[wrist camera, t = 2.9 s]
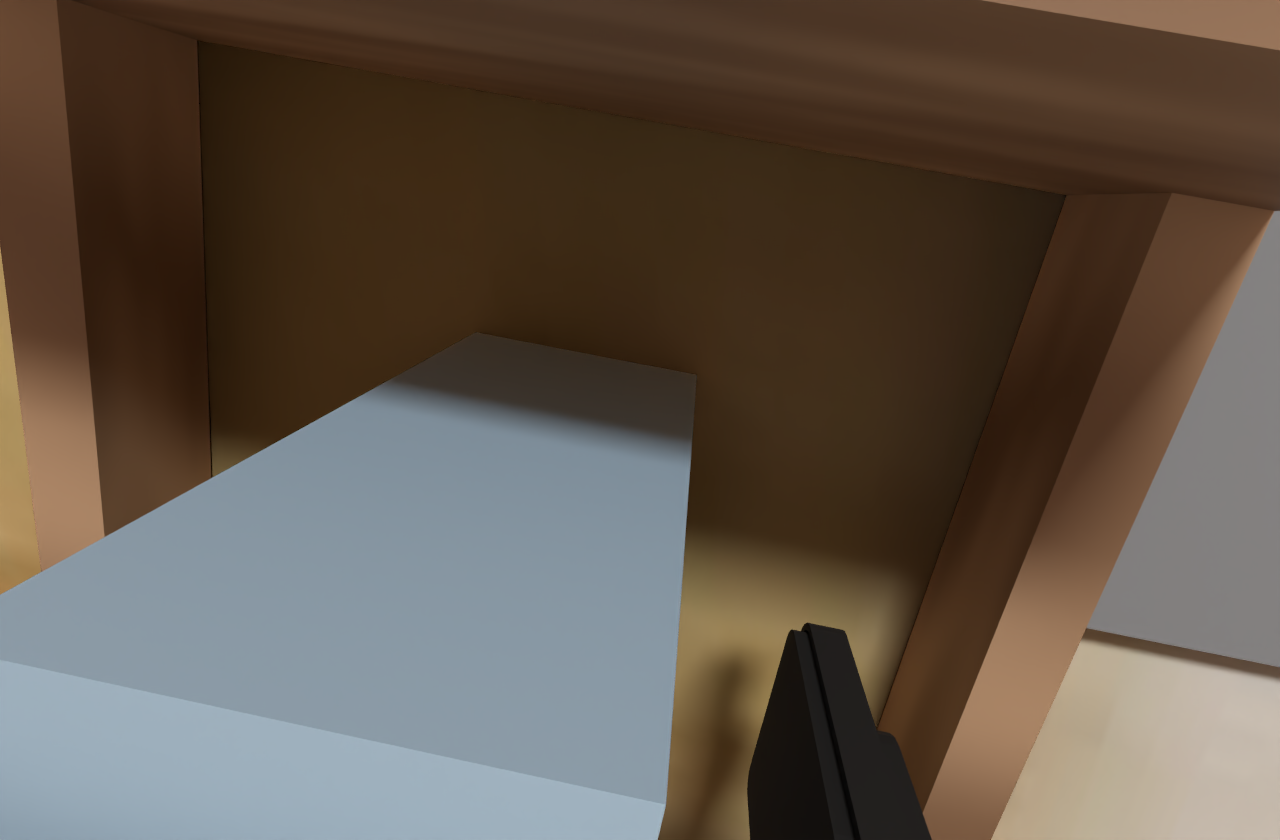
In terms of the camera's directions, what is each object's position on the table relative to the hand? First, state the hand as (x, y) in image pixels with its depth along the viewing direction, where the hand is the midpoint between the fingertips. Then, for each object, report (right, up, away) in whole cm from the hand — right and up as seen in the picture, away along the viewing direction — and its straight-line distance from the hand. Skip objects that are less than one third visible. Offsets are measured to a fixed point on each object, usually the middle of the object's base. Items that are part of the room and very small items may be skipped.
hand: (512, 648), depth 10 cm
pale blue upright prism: (0, +1, +3) cm, 3 cm away
